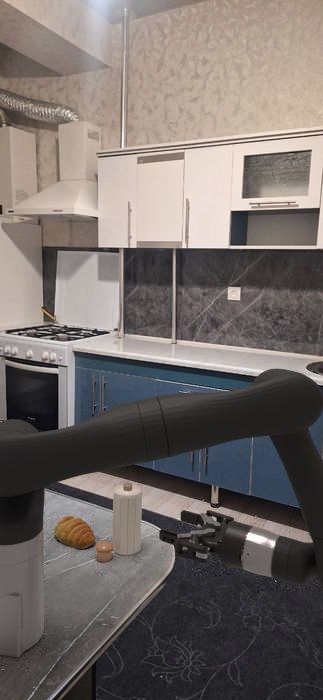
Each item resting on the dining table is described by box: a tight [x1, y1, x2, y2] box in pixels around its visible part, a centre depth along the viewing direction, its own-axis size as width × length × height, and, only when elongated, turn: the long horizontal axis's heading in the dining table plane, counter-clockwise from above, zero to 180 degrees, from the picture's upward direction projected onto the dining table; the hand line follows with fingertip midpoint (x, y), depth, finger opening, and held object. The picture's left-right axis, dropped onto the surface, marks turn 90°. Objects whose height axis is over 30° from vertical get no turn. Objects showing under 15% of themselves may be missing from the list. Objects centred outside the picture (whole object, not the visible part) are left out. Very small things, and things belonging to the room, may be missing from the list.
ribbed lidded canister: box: [111, 482, 143, 556], centre depth 101 cm, size 6×6×14 cm
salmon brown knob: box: [95, 540, 113, 563], centre depth 98 cm, size 3×3×3 cm
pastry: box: [53, 515, 96, 550], centre depth 104 cm, size 9×7×4 cm
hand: (171, 524), depth 96 cm, fingers open, 8 cm apart
